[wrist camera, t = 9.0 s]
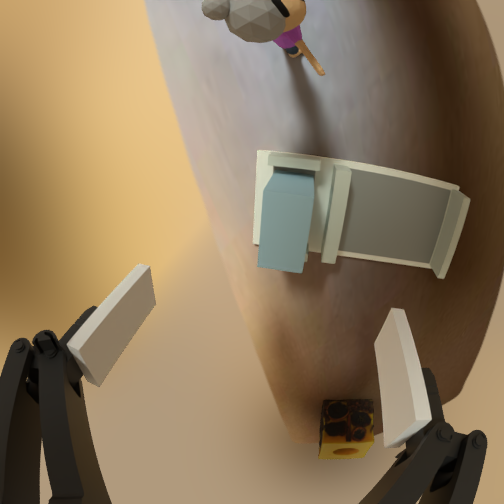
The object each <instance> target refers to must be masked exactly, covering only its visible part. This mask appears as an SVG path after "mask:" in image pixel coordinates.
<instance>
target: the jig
mask: <svg viewBox="0 0 504 504" xmlns="http://www.w3.org/2000/svg"><path fill="white" fill-rule="evenodd" d="M275 170H280V171H288V172H296V173H304V174H311V175H314V204H313V210H312V217H311V224H310V230H309V236H308V242H307V248H306V254H305V260H304V262H307V259H308V251H310V252H317V253H321V262H323V263H331V264H335V262H336V257H337V255H339V256H346V257H354V258H361V259H368V260H375V261H382V262H389V263H396V264H403V265H410V266H417V267H424V268H430V269H433V271H434V273H435V274H436V276H437V278H441V279H444V278H445V275H446V273H447V270H448V268H449V265H450V263H451V260H452V257H453V255H454V252H455V249H456V246H457V243H458V240H459V237H460V234H461V231H462V228H463V225H464V221H465V218H466V215H467V211H468V207H469V204H470V200H471V199H470V198H468V197H467V196H466V195H464V194H463V193H461V192H460V191H459V188H460V187H459V186H458V185H455V184H451V183H448V182H444V181H441V180H437V179H433V178H429V177H425V176H421V175H417V174H413V173H409V172H405V171H400V170H396V169H391V168H386V167H381V166H376V165H371V164H366V163H360V162H354V161H348V160H342V159H336V158H329V157H322V156H314V155H306V154H298V153H288V152H278V151H267V150H257V169H256V189H255V209H254V229H253V244H258V245H259V239H260V226H261V213H262V200H263V190H264V188H265V187H266V185H267V183H268V182H269V180H270V178H271V177H272V175H273V173H274V172H275Z"/></svg>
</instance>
